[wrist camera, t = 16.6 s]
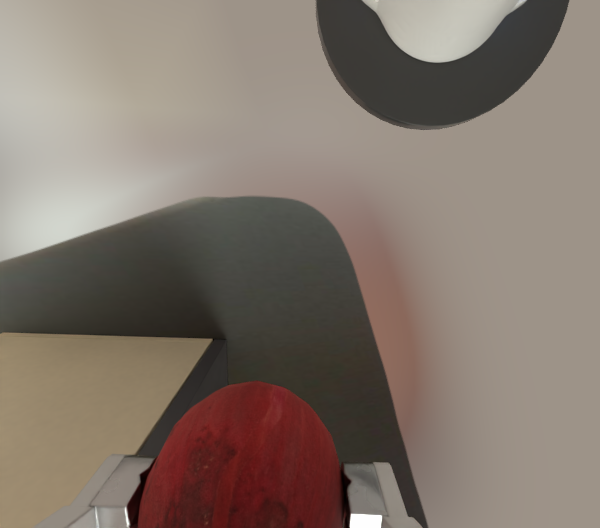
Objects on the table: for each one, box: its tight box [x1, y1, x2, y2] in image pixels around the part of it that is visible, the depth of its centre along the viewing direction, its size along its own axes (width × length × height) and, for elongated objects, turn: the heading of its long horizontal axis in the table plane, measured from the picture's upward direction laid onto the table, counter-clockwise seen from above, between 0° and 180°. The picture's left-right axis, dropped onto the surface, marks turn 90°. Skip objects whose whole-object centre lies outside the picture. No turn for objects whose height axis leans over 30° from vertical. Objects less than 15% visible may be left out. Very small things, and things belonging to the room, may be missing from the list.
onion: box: [138, 381, 345, 528], centre depth 8 cm, size 6×6×8 cm
